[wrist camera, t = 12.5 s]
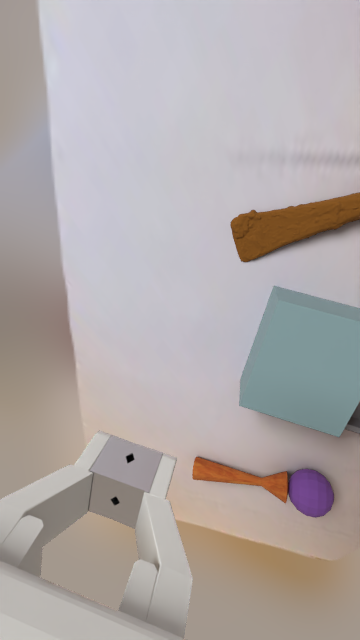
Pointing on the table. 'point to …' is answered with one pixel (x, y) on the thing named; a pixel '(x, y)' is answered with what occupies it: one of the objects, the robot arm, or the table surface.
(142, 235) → the table surface
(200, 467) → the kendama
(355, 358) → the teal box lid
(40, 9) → the table surface
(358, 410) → the box
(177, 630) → the robot arm
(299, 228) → the primitive tool
